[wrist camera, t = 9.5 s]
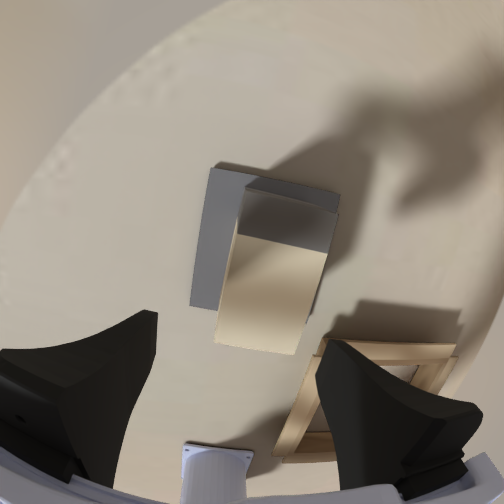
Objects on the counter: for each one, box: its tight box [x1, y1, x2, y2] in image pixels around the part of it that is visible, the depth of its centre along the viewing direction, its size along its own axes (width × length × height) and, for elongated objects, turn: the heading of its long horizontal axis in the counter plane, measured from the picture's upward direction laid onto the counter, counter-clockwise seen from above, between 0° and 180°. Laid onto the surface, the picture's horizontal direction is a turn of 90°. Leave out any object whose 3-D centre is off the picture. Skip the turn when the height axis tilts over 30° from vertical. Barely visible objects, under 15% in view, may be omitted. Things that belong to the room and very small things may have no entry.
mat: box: [189, 168, 340, 323], centre depth 20 cm, size 10×9×1 cm
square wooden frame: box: [271, 337, 459, 463], centre depth 23 cm, size 16×16×3 cm
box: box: [214, 187, 339, 355], centre depth 17 cm, size 8×4×6 cm, turn 167°
